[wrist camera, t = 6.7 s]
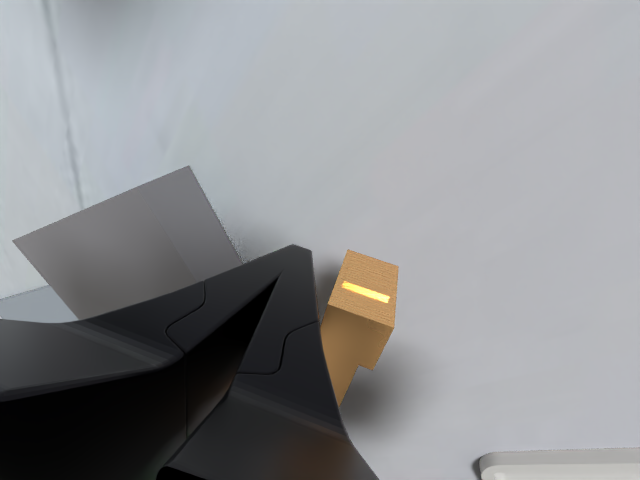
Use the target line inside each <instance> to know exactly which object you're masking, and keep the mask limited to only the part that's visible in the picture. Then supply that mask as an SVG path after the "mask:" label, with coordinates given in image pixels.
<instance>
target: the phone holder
mask: <svg viewBox="0 0 640 480" xmlns="http://www.w3.org/2000/svg"><path fill="white" fill-rule="evenodd" d="M479 466H480V471H481V477H482V480H640V447H638V448H604V449H571V450H538V451H504V452H492V453H488V454H486V455H484V456H482V457H481V459H480V461H479Z"/></svg>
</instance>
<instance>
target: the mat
mask: <svg viewBox="0 0 640 480" xmlns="http://www.w3.org/2000/svg"><path fill="white" fill-rule="evenodd" d="M0 317H1V318H2V319H8V320H19V321H30V322H41V323H62V322H72V321H77V320H79V319H78V318H77V317H76V316H75V315H74V313H73V312H72V311H71V310H70V309H69V308H68V306H67V305H66V304H65V303H64V302H63V300H62V299H61V298H60V297H59V296H58V295H57V293H56V292H55V291H54V290H53V289H52V287H51V286H50V285H48V286H45V287H41V288H38V289H34V290H31V291H27V292H24V293H20V294H17V295H13V296H10V297H7V298H3V299H0Z"/></svg>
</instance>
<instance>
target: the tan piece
mask: <svg viewBox="0 0 640 480" xmlns="http://www.w3.org/2000/svg"><path fill="white" fill-rule="evenodd" d="M397 280H398V266H395V265H393V264H390V263H387V262H384V261H381V260H378V259H375V258H372V257H369V256H366V255H363V254H360V253H357V252H354V251H351V250H347V253H346V256H345V258H344V261H343V264H342V266H341V269H340V272H339V275H338V277H337V280H336V283H335V285H334V288H333V291H332V294H331V296H330V299H329V302H328V305H327V308H326V311H325V314H324V317H323V320H322V323H321V327H320V330H321V338H322V344H323V350H324V354H325V358H326V363H327V367H328V370H329V374H330V378H331V381H332V385H333V388H334V392H335V396H336V399H337V403H338V406H339V407H340V405H341V402H342V400H343V398H344V396H345V394H346V391H347V389H348V387H349V385H350V383H351V380H352V378H353V376H354V374H355V372H356V369H357V367H358V365H360V366H362V367H365V368H368V369H370V370H373V369H374V367H375V365H376V363H377V361H378V359H379V357H380V355H381V353H382V351H383V349H384V347H385V345H386V343H387V341H388V339H389V337H390V335H391V333H392V331H393V329H394V322H395V308H396V294H397Z"/></svg>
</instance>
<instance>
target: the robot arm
mask: <svg viewBox="0 0 640 480" xmlns="http://www.w3.org/2000/svg"><path fill="white" fill-rule="evenodd" d="M0 480H379V479H378V477H377V476H376V475H375V473H374V472H373V471H372V469H371V468H370V467H369V465H368V464H367V463H366V461H365V460H364V459H363V458H362V456H361V455H360V454H359V452H358V451H357V450H356V448H355V447H354V445H353V444H352V442H351V440H350V438H349V436H348V434H347V432H346V429H345V426H344V423H343V420H342V417H341V414H340V410H339V406H338V403H337V399H336V396H335V392H334V388H333V385H332V381H331V378H330V374H329V370H328V367H327V363H326V358H325V354H324V350H323V344H322V338H321V330H320V323H319V313H318V304H317V295H316V286H315V277H314V267H313V258H312V251H311V250H309V249H306V248H303V247H300V246H297V245H289V246H287V247H284V248H282V249H279V250H277V251H275V252H272V253H270V254H267V255H265V256H262V257H260V258H257V259H255V260H252V261H250V262H247V263H245V264H242V265H240V266H237V267H235V268H232V269H230V270H227V271H225V272H222V273H220V274H217V275H215V276H212V277H210V278H207V279H205V280H204V281H199V282H197V283H194V284H192V285H189V286H187V287H184V288H181V289H179V290H176V291H173V292H170V293H167V294H164V295H161V296H158V297H155V298H152V299H149V300H146V301H142V302H139V303H136V304H133V305H129V306H126V307H123V308H119V309H116V310H113V311H110V312H106V313H103V314H100V315H96V316H93V317H89V318H86V319H82V320H77V321H72V322H62V323H41V322H30V321H19V320H8V319H0Z"/></svg>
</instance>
